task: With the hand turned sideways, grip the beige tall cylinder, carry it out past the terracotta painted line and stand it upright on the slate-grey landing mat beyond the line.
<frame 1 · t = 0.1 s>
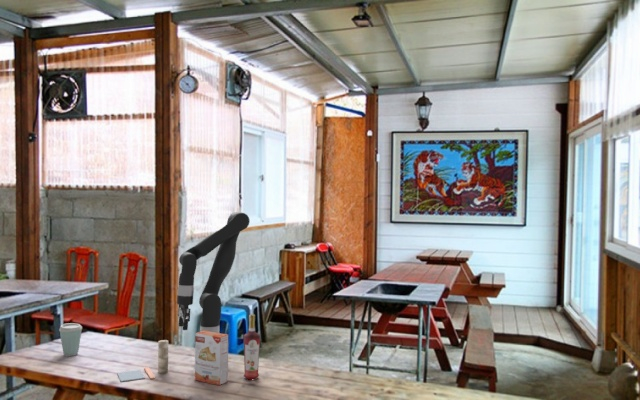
hand: (182, 328, 255), 17 cm above the table, tool pointing down, fingers open, 8 cm apart
landing mat: (130, 376, 236), on the table
beige tall cylinder: (163, 371, 243), on the table
liquor: (251, 378, 235), on the table
disposable coffee cup: (70, 354, 268), on the table
cracker box: (211, 381, 231), on the table
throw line: (149, 373, 240), on the table
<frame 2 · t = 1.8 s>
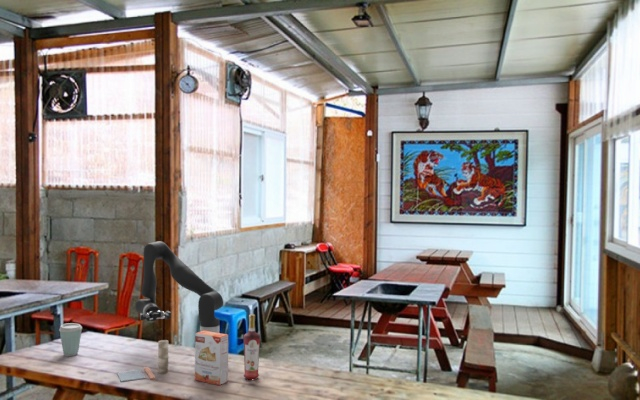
hand: (158, 318, 254), 22 cm above the table, tool horizontal, fingers open, 8 cm apart
nothing on the table moved.
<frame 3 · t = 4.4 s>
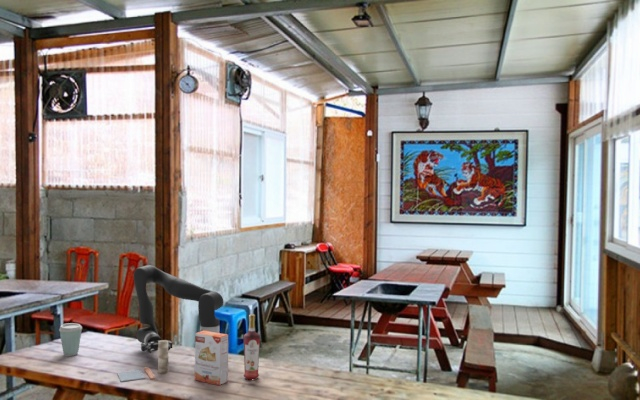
hand: (159, 349, 250), 8 cm above the table, tool horizontal, fingers open, 8 cm apart
nothing on the table moved.
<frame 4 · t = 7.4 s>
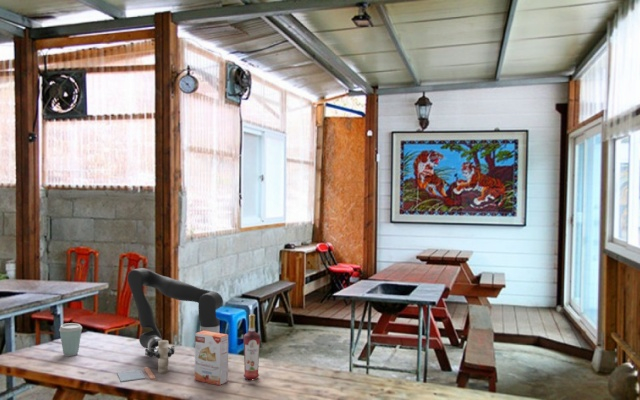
hand: (164, 355, 241), 8 cm above the table, tool horizontal, fingers closed on beige tall cylinder, 4 cm apart
beige tall cylinder: (163, 371, 243), on the table, touching gripper
everything else where it was.
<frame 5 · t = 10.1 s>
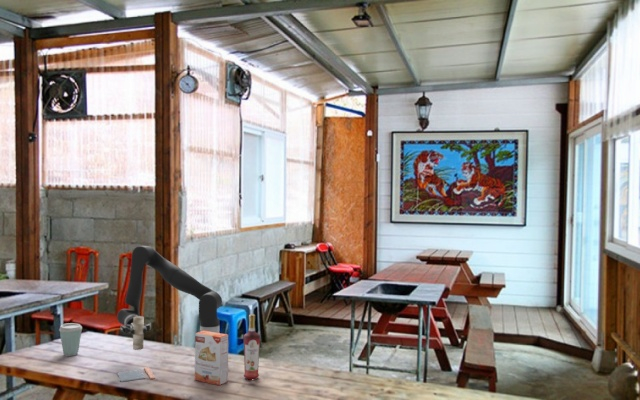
hand: (139, 331, 236), 20 cm above the table, tool horizontal, fingers closed on beige tall cylinder, 4 cm apart
beige tall cylinder: (138, 348, 238), point 12 cm above the table, touching gripper
everything else where it was.
when the fingers open (10 cm above the table, at t = 13.3 s): beige tall cylinder drops 1 cm, resting on landing mat.
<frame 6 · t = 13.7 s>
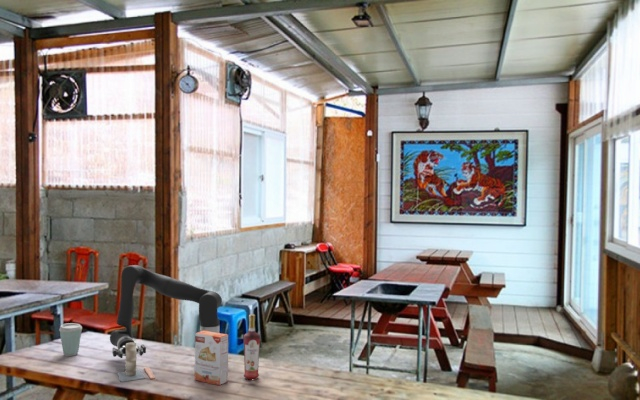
hand: (131, 354, 235), 10 cm above the table, tool horizontal, fingers open, 8 cm apart
beige tall cylinder: (130, 374, 236), point 1 cm above the table, touching landing mat
everything else where it was.
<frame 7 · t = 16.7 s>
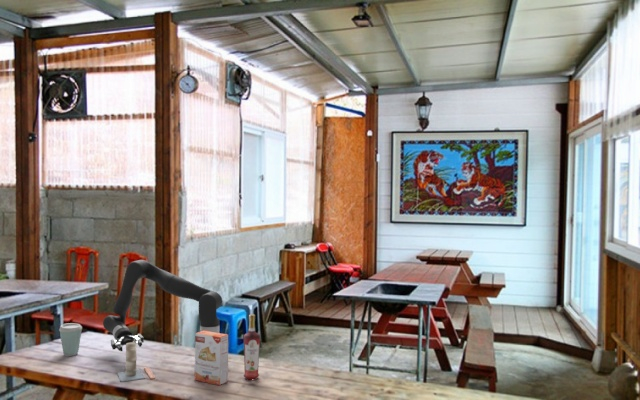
hand: (131, 347, 247), 10 cm above the table, tool horizontal, fingers open, 8 cm apart
nothing on the table moved.
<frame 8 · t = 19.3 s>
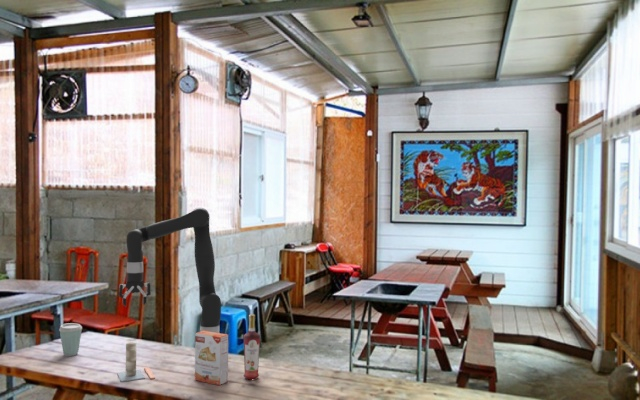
hand: (134, 305, 254), 28 cm above the table, tool pointing down, fingers open, 8 cm apart
nothing on the table moved.
at the end: beige tall cylinder inside the target area (0.5 cm from its centre), point 0.5 cm above the table; beige tall cylinder tilted 0°; the gripper is holding nothing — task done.
